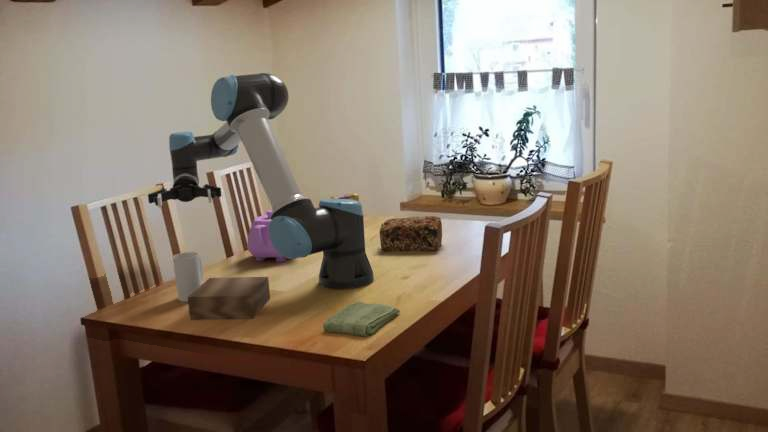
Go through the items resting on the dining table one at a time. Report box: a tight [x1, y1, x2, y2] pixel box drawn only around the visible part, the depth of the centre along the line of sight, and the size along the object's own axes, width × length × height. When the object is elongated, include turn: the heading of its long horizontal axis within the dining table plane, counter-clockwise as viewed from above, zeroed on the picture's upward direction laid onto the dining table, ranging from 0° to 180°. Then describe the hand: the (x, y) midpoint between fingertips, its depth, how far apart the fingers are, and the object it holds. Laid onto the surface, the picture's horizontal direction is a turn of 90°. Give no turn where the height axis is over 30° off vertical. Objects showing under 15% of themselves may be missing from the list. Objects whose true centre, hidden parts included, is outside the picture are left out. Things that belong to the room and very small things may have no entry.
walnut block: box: [187, 276, 271, 321], centre depth 204 cm, size 16×16×6 cm
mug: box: [172, 251, 204, 303], centre depth 216 cm, size 10×7×12 cm, turn 157°
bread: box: [379, 215, 443, 253], centre depth 254 cm, size 19×11×10 cm, turn 78°
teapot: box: [246, 209, 287, 263], centre depth 250 cm, size 20×20×15 cm
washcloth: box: [322, 301, 401, 337], centre depth 189 cm, size 13×18×3 cm
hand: (184, 200), depth 222 cm, fingers open, 13 cm apart
